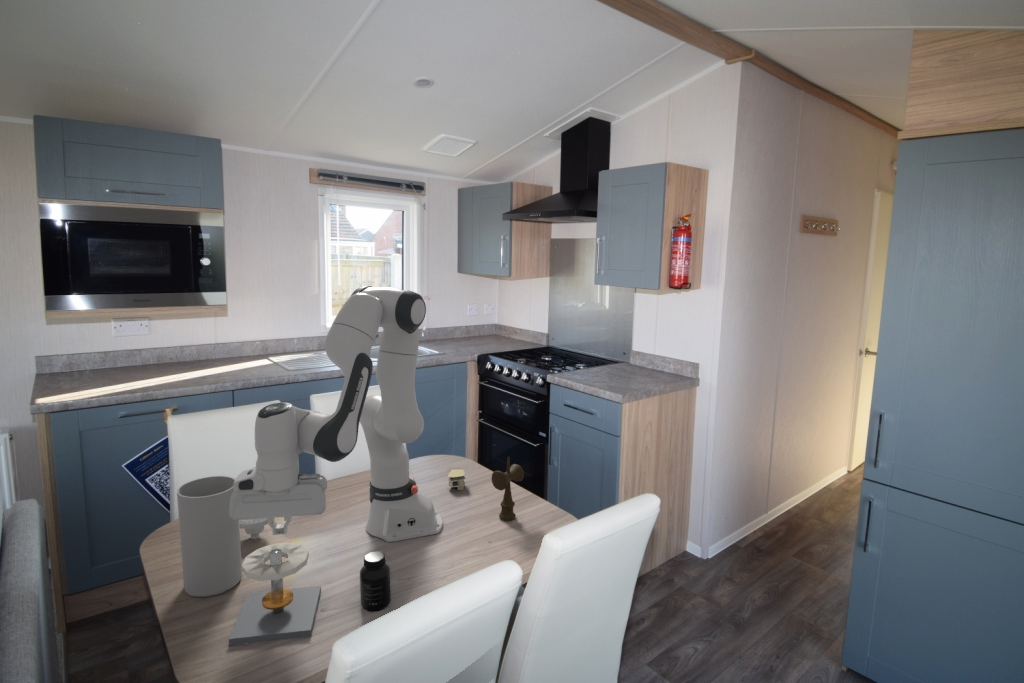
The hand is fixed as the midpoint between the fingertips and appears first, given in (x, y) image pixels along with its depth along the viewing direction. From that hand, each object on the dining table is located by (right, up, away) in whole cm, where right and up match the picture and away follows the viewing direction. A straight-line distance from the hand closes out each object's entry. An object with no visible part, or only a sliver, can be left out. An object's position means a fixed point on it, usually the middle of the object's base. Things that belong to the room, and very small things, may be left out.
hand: (280, 533), depth 125 cm
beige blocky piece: (+33, -8, +68) cm, 76 cm away
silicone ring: (+1, -5, -5) cm, 7 cm away
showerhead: (-21, -12, +31) cm, 39 cm away
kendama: (+51, -11, +46) cm, 70 cm away
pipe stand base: (+1, -18, -3) cm, 18 cm away
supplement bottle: (+21, -17, +3) cm, 28 cm away
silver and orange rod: (+1, -16, -3) cm, 16 cm away
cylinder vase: (-20, -16, +9) cm, 27 cm away
